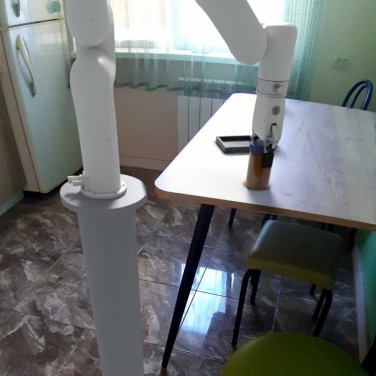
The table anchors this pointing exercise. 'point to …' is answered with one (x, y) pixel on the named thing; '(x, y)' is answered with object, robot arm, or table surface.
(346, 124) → the table surface
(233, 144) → the slate tray
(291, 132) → the table surface
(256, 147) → the jar lid
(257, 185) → the jam jar
